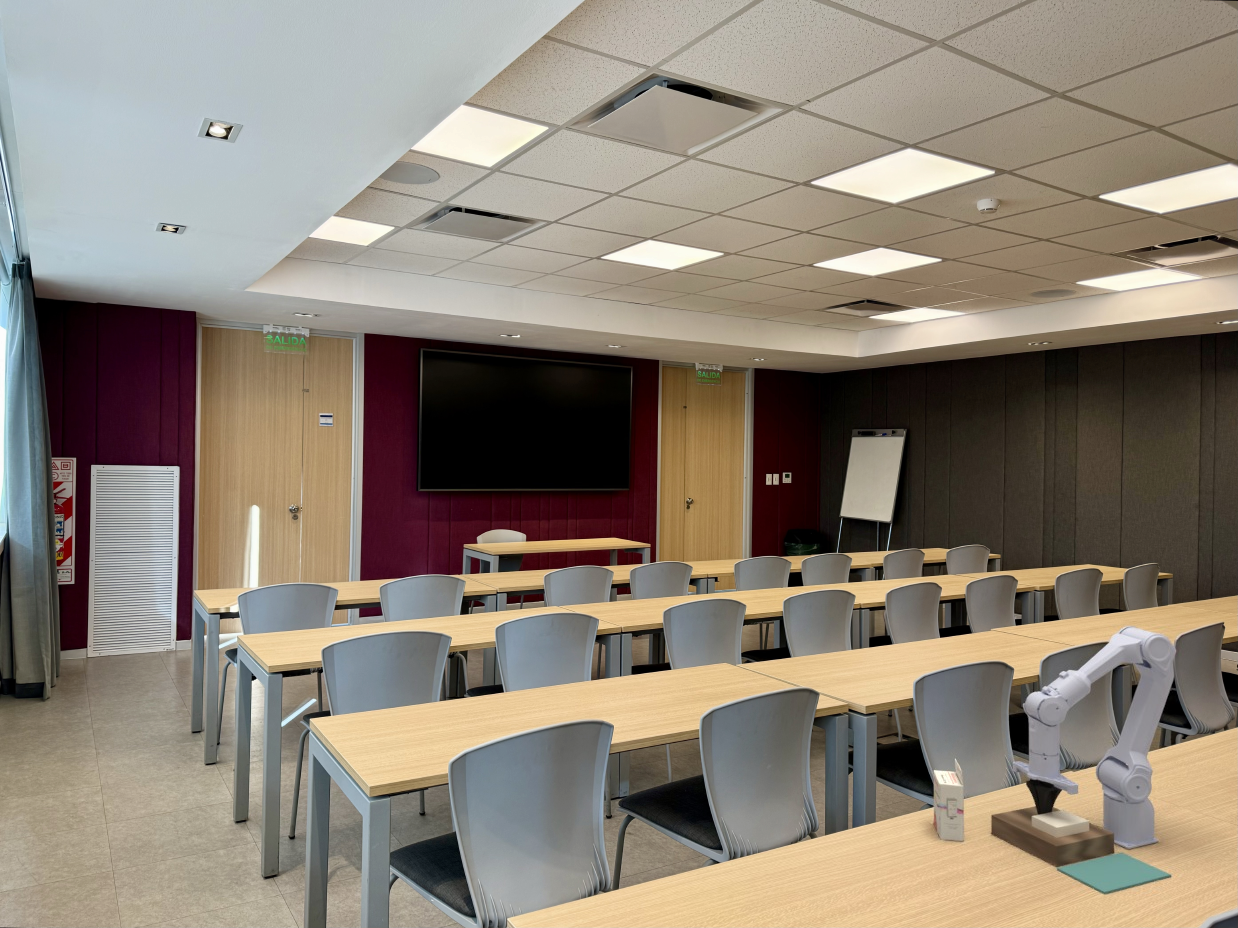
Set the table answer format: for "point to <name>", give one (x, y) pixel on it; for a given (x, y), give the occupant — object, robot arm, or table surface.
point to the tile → (1060, 823)
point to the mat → (1113, 873)
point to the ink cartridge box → (949, 804)
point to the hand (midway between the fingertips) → (1044, 816)
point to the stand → (1051, 838)
